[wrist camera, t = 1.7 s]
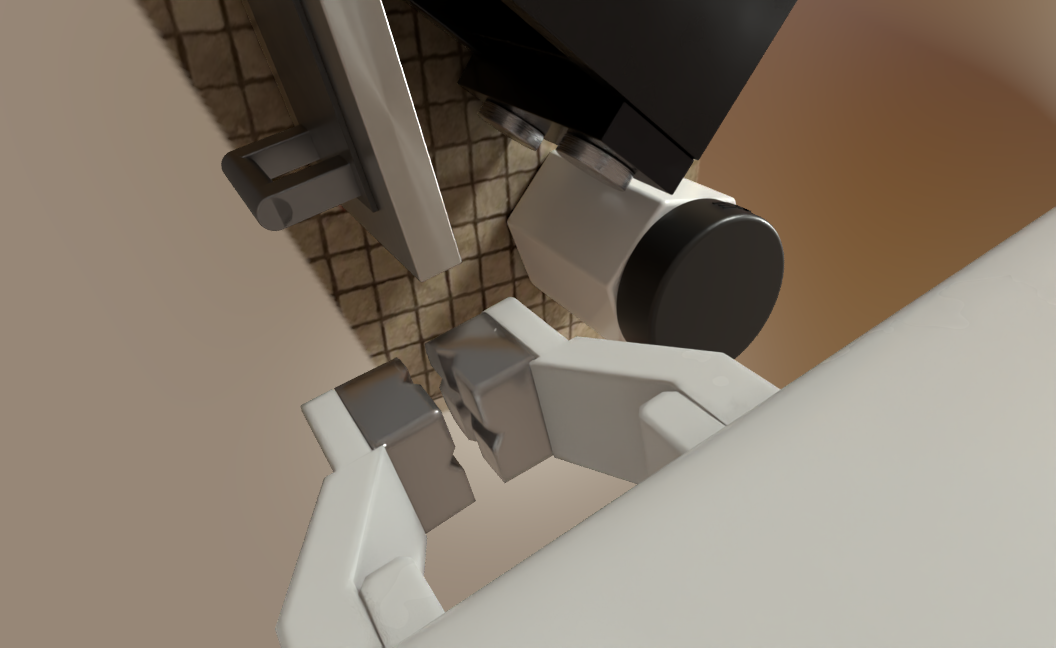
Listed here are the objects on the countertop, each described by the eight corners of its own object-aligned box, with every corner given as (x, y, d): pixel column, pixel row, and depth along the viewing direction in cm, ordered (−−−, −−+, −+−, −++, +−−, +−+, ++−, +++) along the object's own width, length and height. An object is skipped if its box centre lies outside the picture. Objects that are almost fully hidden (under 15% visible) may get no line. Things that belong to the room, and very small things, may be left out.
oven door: (242, 216, 31) (319, 333, 22) (99, -66, 24) (129, -58, 15) (350, 170, 32) (463, 263, 24) (244, -105, 26) (346, -118, 17)
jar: (642, 241, 44) (793, 322, 35) (539, 311, 42) (671, 417, 33) (609, 112, 39) (779, 171, 30) (488, 187, 37) (631, 273, 28)
